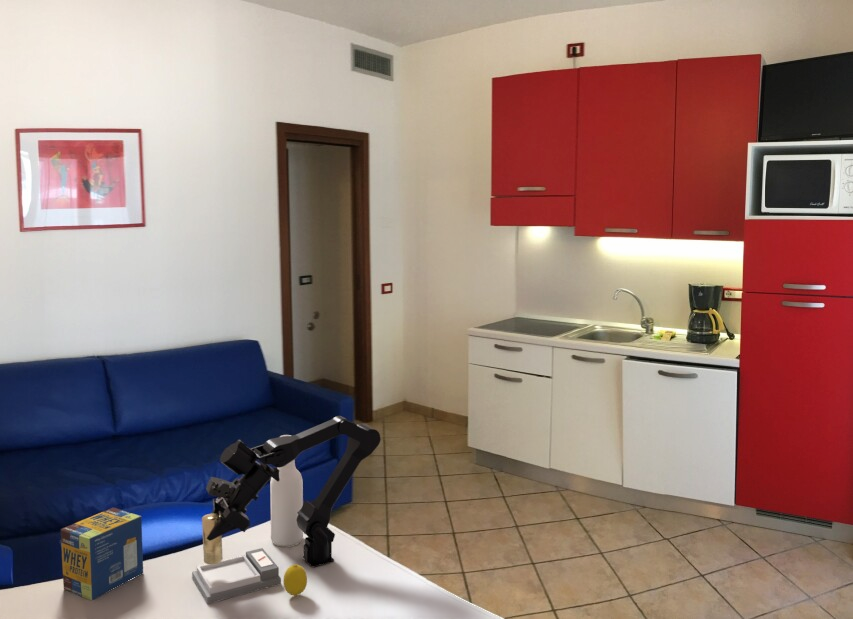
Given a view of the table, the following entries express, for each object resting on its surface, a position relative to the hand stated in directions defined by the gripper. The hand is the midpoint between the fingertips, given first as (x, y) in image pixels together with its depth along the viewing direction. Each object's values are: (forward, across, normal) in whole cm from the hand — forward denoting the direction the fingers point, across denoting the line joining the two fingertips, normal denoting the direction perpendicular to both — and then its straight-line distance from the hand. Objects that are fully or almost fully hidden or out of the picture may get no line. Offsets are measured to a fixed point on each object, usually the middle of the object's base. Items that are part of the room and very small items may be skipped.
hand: (206, 535), depth 175 cm
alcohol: (-7, -16, +27) cm, 32 cm away
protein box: (+25, -13, -7) cm, 29 cm away
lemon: (-3, +14, +22) cm, 26 cm away
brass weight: (+4, 0, +6) cm, 7 cm away
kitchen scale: (+5, 0, +14) cm, 15 cm away
